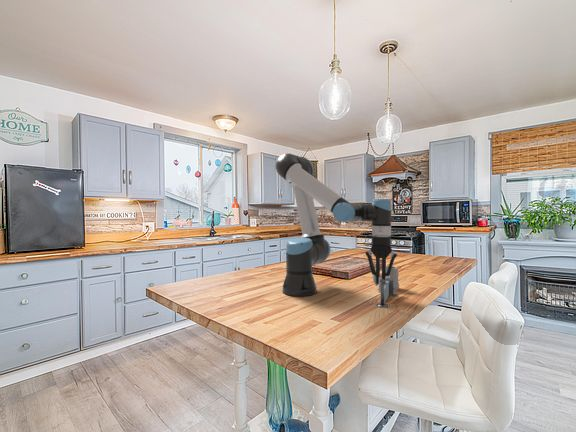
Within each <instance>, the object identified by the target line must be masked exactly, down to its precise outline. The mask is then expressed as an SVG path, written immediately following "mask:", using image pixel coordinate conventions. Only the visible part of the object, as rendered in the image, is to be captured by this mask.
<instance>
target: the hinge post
mask: <svg viewBox="0 0 576 432" xmlns="http://www.w3.org/2000/svg"><path fill="white" fill-rule="evenodd" d="M380 283H381V293H380V302H379V303H377V304H376V306H377V307H378V308H381V309H382V308H384V309H386V308H388V307H389V305H388V304H386V303H385V304H384V283H385V280H384V279H380Z"/></svg>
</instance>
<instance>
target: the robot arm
mask: <svg viewBox="0 0 576 432" xmlns="http://www.w3.org/2000/svg"><path fill="white" fill-rule="evenodd" d="M275 169H276V172H277V174H278V176H279V177H281V178H283V180H285V182H286V181H287V182H288V183H289V186H290V187H292V188H293V193H294V194H293V195H294V198H295V203H296V208H297V213H298V219H299V223H300V228H301V233H302V234H301V236H300V237H297V238H292V239H290V240H288V241H287V242H286V245H285V246H286V247H285V253H286V256H285V257H286V258H285V259H286V269H285V270H286V275H285V277H284V278H285V279H284V281H283V284H282V293H283V294H285V295H286V296H287V295H288V296H292V297H306V296H307V297H308V296H312V295H314V294H316V293H317V284H316V281H315V278H314V275H313V265H317V264H321V263H323V262H325V261H326V260H327V259H329V257H330V254H331V246H330V245H331V244H330V243H329V241H327V239H325V235H324V234H325V233H323V232H321V231H320V227H319V222H318V217H317V213H316V206H315V202H314V200H315V201H316V202H318V203H319V204H320V205H321V206H323V207H324V208H325V209H326V210H328V211H329V212H330V213H332V214H333V217H334V218H335V220H336V221H338V222H340V223H350V222H371V223H372V224H371V225H372V226H371V235H372V237H371V247H370V249H369V250H367V251H365V252H364V253H365V255H366V257H367V259H368V264H369V268H370V269H369V270H370V272H371V274H372V276H373V275H375V276H376V284H379V285H378V293H379V294H381V283H380V279H384V280H385V277H386V276H389V275H390V272H391V269H392V266H394V261H395V260H396V258H397V256H398V253H396V252H395V251H393V249H392V237H391V236H392V201H391V200H390V198H389V199H388V198H373V199H372V202H371V203H351V202H349V201H348V200H346V199H345V198H344V197H342V196H341V195H340V194H338V193H337V192H336V191H334V190H332V189H331V188H330V187H328V186H327V185H326V184H324V183H323V182H321V181H320V180H319V179H317V178H316V177H314V171H315V168H314V165H313V163H312V161H310V159H308V158H306V157H305V156H300V155H296V154H293V153H283V154H281V155H280V156H279V157H278V158H277V160H276V162H275ZM372 254H373V256H374V258H375V265H374V260H373V256H372ZM389 256H390V257H391V258H390V261H389V263H388V266H389V267H388V270H387V273H386V266H387V258H388V257H389ZM375 268H376V272H375ZM380 268H382V270H380ZM384 284H385V283H384Z"/></svg>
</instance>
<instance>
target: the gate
mask: <svg viewBox="0 0 576 432" xmlns="http://www.w3.org/2000/svg"><path fill="white" fill-rule="evenodd" d="M389 294H390V276H386V282H385V284H384V304H386V301H387V299H388V297H389Z"/></svg>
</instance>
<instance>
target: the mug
mask: <svg viewBox="0 0 576 432" xmlns="http://www.w3.org/2000/svg"><path fill="white" fill-rule="evenodd" d="M388 267H389V265H386V273H387V270H388ZM374 268H375V272H376V267H374ZM380 271H382V267H380ZM389 276H390V280H392V281H394V291H398V290H399V289H400V284H399V268H398V267H397V266H394V265H393V266H392V269H391V272H390V275H389ZM372 281H373V284H374V285H375V286H376V287H379V284H376V276H375V275H373V274H372ZM385 282H386V277H385Z"/></svg>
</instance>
